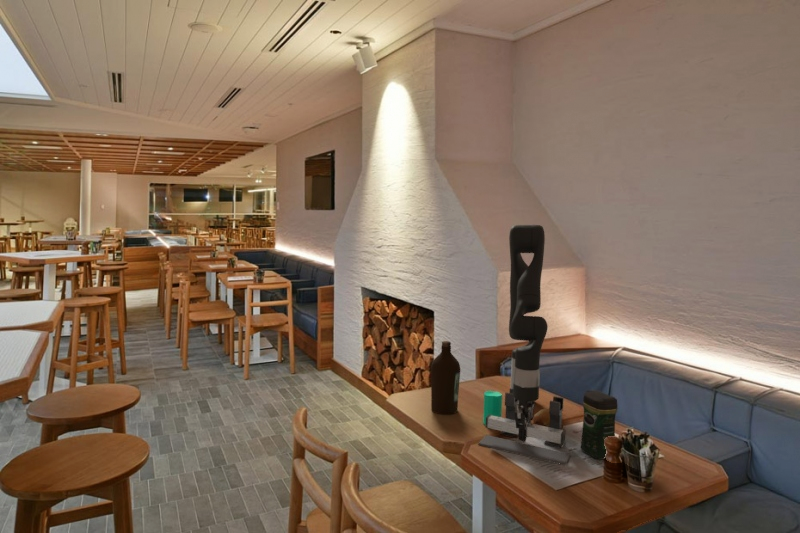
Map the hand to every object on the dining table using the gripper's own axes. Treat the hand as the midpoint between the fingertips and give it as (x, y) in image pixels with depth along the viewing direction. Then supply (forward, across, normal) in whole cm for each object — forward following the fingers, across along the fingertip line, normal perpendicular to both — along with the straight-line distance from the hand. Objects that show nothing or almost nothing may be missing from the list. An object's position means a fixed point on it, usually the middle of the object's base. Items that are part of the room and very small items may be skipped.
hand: (523, 438), depth 156 cm
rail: (-1, 0, 0) cm, 1 cm away
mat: (+4, 0, 0) cm, 4 cm away
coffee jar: (+4, -10, +20) cm, 22 cm away
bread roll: (+4, -21, +2) cm, 22 cm away
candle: (+4, -15, -15) cm, 22 cm away
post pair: (+4, -10, 0) cm, 11 cm away
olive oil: (+4, -18, -34) cm, 39 cm away
